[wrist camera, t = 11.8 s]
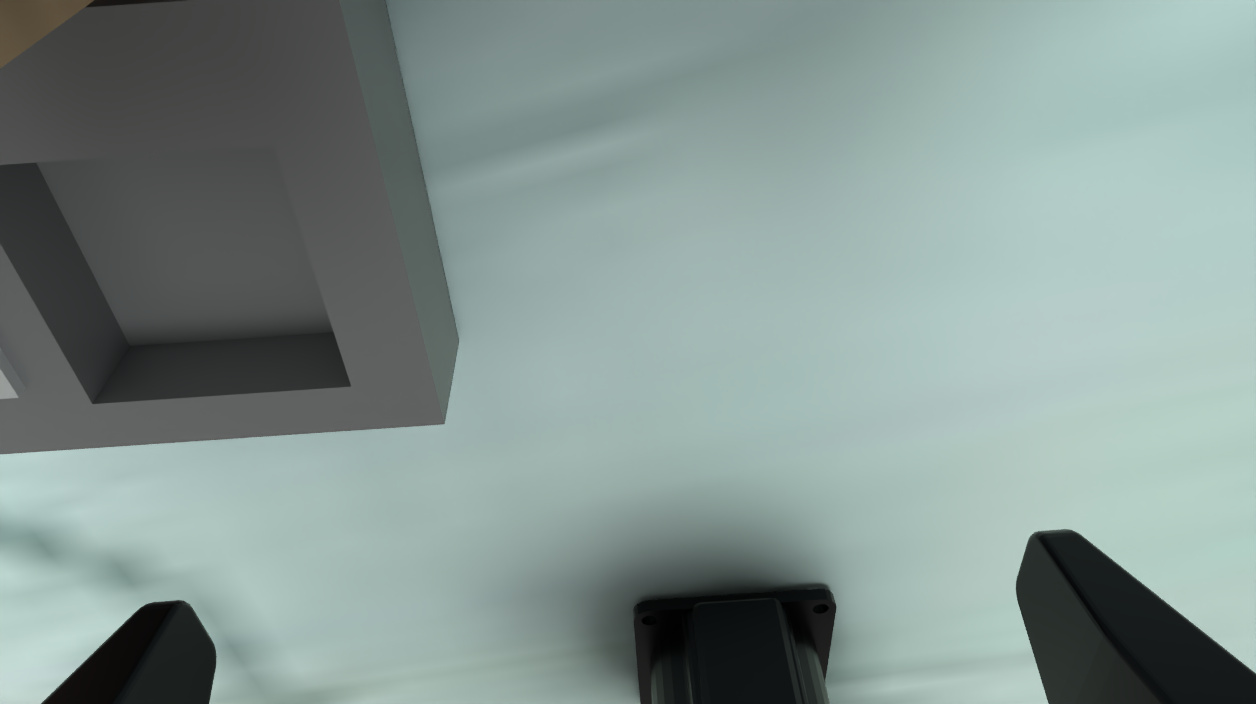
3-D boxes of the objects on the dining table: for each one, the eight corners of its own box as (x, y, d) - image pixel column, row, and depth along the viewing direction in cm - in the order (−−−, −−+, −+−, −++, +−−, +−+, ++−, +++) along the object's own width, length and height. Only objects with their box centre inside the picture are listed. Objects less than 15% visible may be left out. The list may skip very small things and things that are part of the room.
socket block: (458, 341, 22) (442, 433, 19) (-26, 373, 22) (-107, 470, 19) (256, -594, 12) (166, -661, 9) (-631, -534, 12) (-964, -584, 9)
